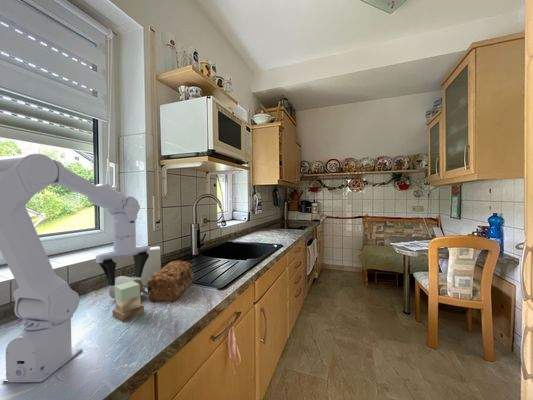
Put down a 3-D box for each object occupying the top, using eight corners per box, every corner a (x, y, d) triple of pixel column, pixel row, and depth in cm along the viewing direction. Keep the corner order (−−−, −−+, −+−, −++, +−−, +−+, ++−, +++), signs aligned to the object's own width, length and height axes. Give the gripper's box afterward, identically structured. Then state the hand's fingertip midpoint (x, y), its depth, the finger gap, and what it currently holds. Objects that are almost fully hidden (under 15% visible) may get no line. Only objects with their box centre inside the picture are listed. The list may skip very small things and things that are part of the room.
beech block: (122, 313, 65) (122, 301, 65) (115, 308, 68) (115, 296, 68) (140, 306, 69) (140, 294, 69) (133, 302, 72) (133, 291, 72)
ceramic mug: (128, 304, 75) (128, 281, 75) (108, 302, 77) (108, 279, 77) (151, 292, 85) (151, 271, 86) (133, 290, 87) (133, 270, 87)
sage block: (121, 301, 65) (121, 289, 65) (114, 297, 68) (114, 285, 68) (139, 295, 69) (139, 284, 69) (132, 291, 72) (132, 280, 72)
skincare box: (161, 279, 99) (160, 245, 99) (161, 283, 93) (161, 248, 93) (139, 282, 95) (138, 247, 95) (138, 287, 90) (138, 250, 90)
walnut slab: (123, 323, 64) (123, 314, 64) (112, 318, 67) (112, 310, 67) (143, 314, 69) (143, 306, 69) (133, 309, 72) (132, 301, 72)
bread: (170, 282, 95) (169, 259, 95) (195, 282, 95) (194, 258, 95) (145, 303, 76) (145, 273, 76) (176, 302, 76) (176, 273, 76)
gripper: (141, 232, 76) (142, 272, 76) (90, 238, 64) (91, 286, 64) (153, 233, 73) (154, 275, 72) (102, 240, 60) (103, 291, 60)
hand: (125, 280), depth 68 cm, fingers open, 7 cm apart
